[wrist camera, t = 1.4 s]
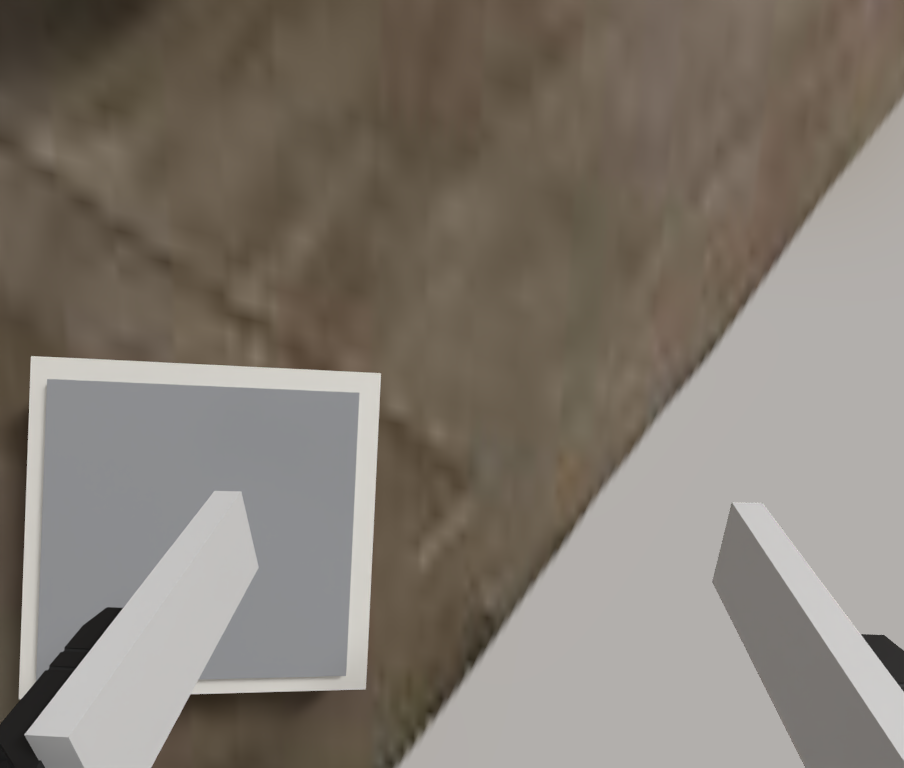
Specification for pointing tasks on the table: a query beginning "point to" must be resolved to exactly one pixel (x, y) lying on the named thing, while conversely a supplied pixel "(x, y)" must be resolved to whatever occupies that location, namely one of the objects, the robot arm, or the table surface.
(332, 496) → the block
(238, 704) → the table surface
